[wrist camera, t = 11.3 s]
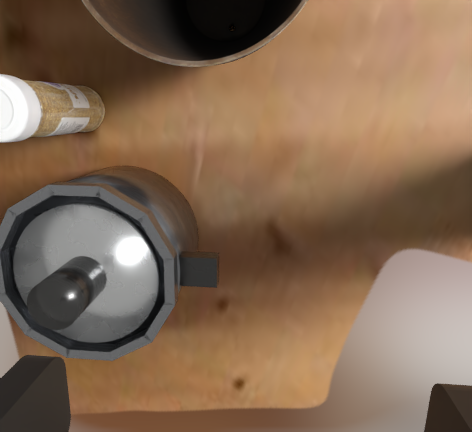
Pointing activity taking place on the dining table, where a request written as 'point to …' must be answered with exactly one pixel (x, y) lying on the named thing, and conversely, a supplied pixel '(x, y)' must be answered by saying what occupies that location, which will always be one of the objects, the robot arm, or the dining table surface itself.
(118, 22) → the plant pot
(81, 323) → the lid
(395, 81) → the dining table surface
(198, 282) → the pot
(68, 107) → the sprinkles bottle
